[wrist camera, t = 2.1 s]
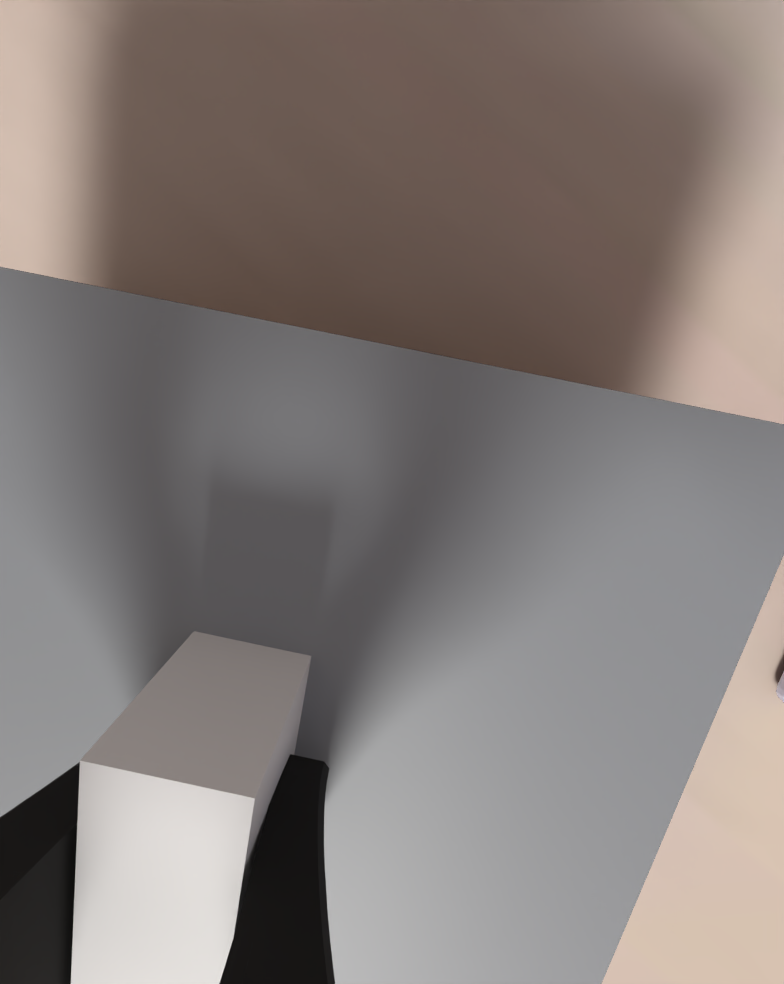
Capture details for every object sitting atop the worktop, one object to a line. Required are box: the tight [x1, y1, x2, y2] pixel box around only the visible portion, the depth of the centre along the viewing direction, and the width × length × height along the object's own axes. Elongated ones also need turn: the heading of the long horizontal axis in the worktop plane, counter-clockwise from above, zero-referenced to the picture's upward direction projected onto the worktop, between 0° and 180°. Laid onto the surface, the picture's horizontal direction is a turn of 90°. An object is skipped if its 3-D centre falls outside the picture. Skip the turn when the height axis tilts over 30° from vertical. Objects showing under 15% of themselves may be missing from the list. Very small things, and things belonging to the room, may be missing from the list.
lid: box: [0, 267, 784, 984], centre depth 8 cm, size 15×15×4 cm
